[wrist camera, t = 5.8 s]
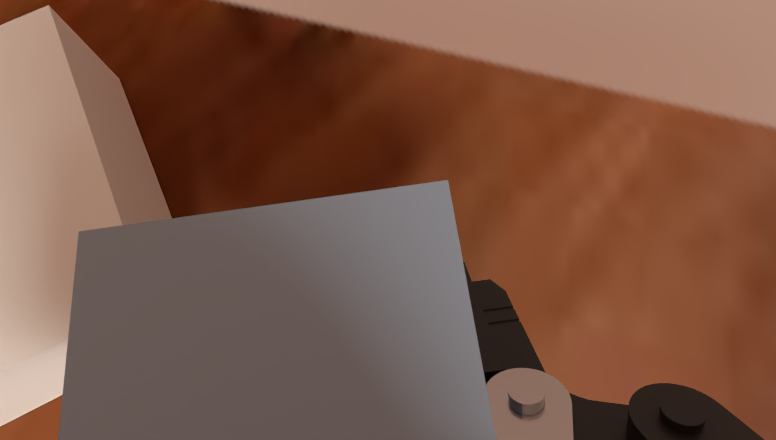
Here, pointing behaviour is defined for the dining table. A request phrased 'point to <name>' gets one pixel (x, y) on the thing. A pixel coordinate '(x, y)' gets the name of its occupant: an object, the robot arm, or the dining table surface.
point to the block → (278, 325)
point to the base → (57, 192)
